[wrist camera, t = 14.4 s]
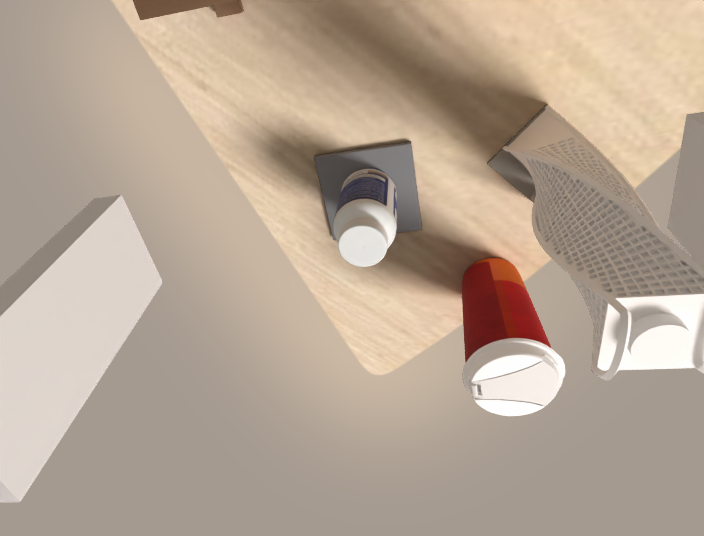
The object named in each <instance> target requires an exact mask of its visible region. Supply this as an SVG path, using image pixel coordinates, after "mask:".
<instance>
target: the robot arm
mask: <svg viewBox="0 0 704 536" xmlns="http://www.w3.org/2000/svg"><path fill="white" fill-rule="evenodd" d="M668 229H669V230H670V231H671V232H672V233H673V235H674V236H675V237H676V238H677V240H678V241H679V242H680V243H681V244H682V246H683V247H684V248H685V249H686V250H687V252H688V253H689V254H690V255H691V256H692V258H693V259H694V260H695V261H696V263H697V264H698V265H699V266H700V267H701V269H702V270H703V271H704V112H701V113H694V114H687V116H686V122H685V128H684V134H683V140H682V145H681V151H680V158H679V163H678V169H677V175H676V181H675V187H674V193H673V199H672V205H671V211H670V217H669V223H668ZM162 283H163V282H162V280H161V278H160V276H159V273H158V271H157V269H156V267H155V265H154V263H153V261H152V259H151V257H150V255H149V252H148V250H147V248H146V246H145V244H144V242H143V240H142V237H141V235H140V233H139V231H138V229H137V227H136V225H135V223H134V221H133V218H132V216H131V214H130V212H129V210H128V208H127V206H126V204H125V201H124V199H123V197H122V195H116V196H110V197H102V198H95V199H94V200H92V201H91V202H90V203H89V204H88V205H87V206H86V207H85V208H84V209H83V210H82V211H81V212H79V213H78V214H77V215H76V216H75V217H74V218H73V219H72V220H71V221H70V222H69V223H68V224H67V225H65V226H64V227H63V228H62V229H61V230H60V231H59V232H58V233H57V234H56V235H55V236H54V237H53V238H51V240H49V242H47V243H46V244H45V245H44V246H43V247H42V248H41V249H40V250H39V251H38V252H36V253H35V254H34V255H33V256H32V257H31V258H30V259H29V260H28V261H27V262H26V263H25V264H24V265H23V266H21V267H20V268H19V269H18V270H17V271H16V272H15V273H14V274H13V275H12V276H11V277H10V278H9V279H7V280H6V281H5V283H3V284H2V285H1V286H0V503H2V502H20V501H21V500H22V498H23V497H24V495H25V494H26V492H27V490H28V489H29V487H30V485H31V484H32V483H33V481H34V480H35V478H36V476H37V475H38V473H39V472H40V470H41V469H42V467H43V466H44V464H45V462H46V461H47V460H48V458H49V457H50V455H51V453H52V452H53V450H54V449H55V447H56V446H57V444H58V443H59V441H60V440H61V438H62V437H63V435H64V434H65V432H66V431H67V429H68V427H69V426H70V424H71V423H72V421H73V420H74V418H75V417H76V415H77V414H78V412H79V411H80V409H81V407H82V406H83V404H84V403H85V401H86V400H87V398H88V397H89V395H90V394H91V392H92V391H93V389H94V387H95V386H96V384H97V383H98V381H99V380H100V378H101V377H102V375H103V374H104V372H105V371H106V369H107V367H108V366H109V364H110V363H111V361H112V360H113V358H114V357H115V355H116V354H117V352H118V351H119V349H120V347H121V346H122V344H123V343H124V341H125V340H126V338H127V337H128V335H129V334H130V332H131V331H132V329H133V327H134V326H135V324H136V323H137V321H138V320H139V318H140V317H141V315H142V314H143V312H144V310H145V309H146V307H147V306H148V304H149V303H150V301H151V300H152V298H153V297H154V295H155V293H156V292H157V291H158V289H159V287H160V286H161V284H162Z"/></svg>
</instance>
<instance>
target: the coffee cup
mask: <svg viewBox="0 0 704 536" xmlns="http://www.w3.org/2000/svg"><path fill="white" fill-rule="evenodd" d="M462 303H463V324H464V342H465V361H466V364H465V366H464V369H463V374H462V375H463V383H464V386H465V388H466V389H467V391H468V392H469V393H470V395H471V396H472V397H473V399H474V400H475V401H476V403H477V404H478V405H479V406H481V407H482V408H484V409H485V410H487V411H489V412H492V413H495V414H498V415H504V416H519V415H526V414H530V413H533V412H536V411H538V410H540V409H542V408H544V407H545V406H546V405H547V404H548V403H549V402H550V401H551V400H552V399H553V398H554V397H555V395H556V394H557V392H558V390H559V388H560V386H561V385H562V382H563V377H564V376H565V365H564V362H563V359H562V358H561V357H560V356H559V355H558V354H557V353H556V352H555V351H554V350H553V349H552V348H551V346H550V344H549V342H548V339H547V337H546V334H545V332H544V330H543V327H542V325H541V322H540V320H539V318H538V315H537V313H536V311H535V308H534V306H533V304H532V301H531V299H530V297H529V294H528V292H527V290H526V287H525V285H524V283H523V281H522V278H521V276H520V274H519V272H518V271H517V269H516V268H515V266H514V265H513V264H511V263H510V262H508V261H506V260H504V259H500V258H486V259H482V260H479V261H477V262H475V263H474V264H472V265H471V266H470V267H469V268H468V269H467V270H466V272H465V274H464V276H463V280H462Z"/></svg>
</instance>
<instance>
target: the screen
mask: <svg viewBox="0 0 704 536" xmlns="http://www.w3.org/2000/svg"><path fill="white" fill-rule="evenodd" d="M133 2H134V5H135V7H136V10H137V13H138V15H139V18H140V20H144V19H149V18H154V17H159V16H164V15H169V14H174V13H178V12H183V11H188V10H193V9H198V8H203V7H208V6H213V5H214V8H215V12H216V15H217V18H218V17H223V16H228V15H233V14H238V13H241V12H243V11H244V9H243V6H242V2H241V0H133Z"/></svg>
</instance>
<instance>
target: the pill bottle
mask: <svg viewBox="0 0 704 536" xmlns="http://www.w3.org/2000/svg"><path fill="white" fill-rule="evenodd" d="M333 229H334V235H335V238H336V240H337V241H338V248H339V252H340V254H341V256H342V257H343V258H344V259H345V260H346V261H347V262H349V263H350V264H352V265H355V266H360V267H368V266H372V265H375V264H377V263H378V262H380V261H381V260H382V259H383V257H384V256H385V254H386V251H387V248H388V247H389V246H390V245H391V244H392V242H393V240H394V238H395V235H396V229H397V191H396V187H395V184H394V183H393V181H392V180H391V179H390V177H389V176H387V175H386V174H385V173H383V172H381V171H379V170H376V169H362V170H358V171H356V172H354V173H352V174H351V175H350V176H349V177H348V178H347V179H346V180H345V182H344V183H343V186H342V188H341V192H340V197H339V202H338V206H337V210H336V215H335V219H334V226H333Z"/></svg>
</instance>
